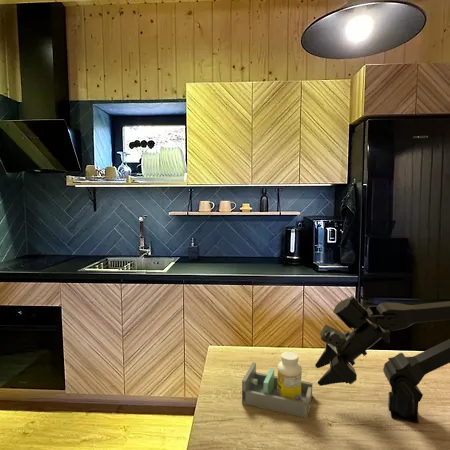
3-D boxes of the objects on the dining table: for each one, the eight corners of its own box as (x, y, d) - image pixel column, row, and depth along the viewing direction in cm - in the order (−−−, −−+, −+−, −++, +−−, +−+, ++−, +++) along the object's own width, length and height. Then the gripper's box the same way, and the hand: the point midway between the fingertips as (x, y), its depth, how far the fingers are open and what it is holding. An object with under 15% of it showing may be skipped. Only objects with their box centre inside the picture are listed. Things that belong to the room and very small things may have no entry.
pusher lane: (312, 395, 103) (312, 373, 102) (307, 418, 93) (307, 393, 92) (252, 383, 109) (252, 362, 108) (241, 403, 99) (242, 380, 98)
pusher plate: (274, 386, 105) (274, 368, 105) (267, 402, 98) (267, 383, 97) (270, 385, 106) (270, 368, 105) (263, 401, 98) (263, 382, 97)
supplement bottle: (277, 390, 104) (278, 349, 102) (300, 393, 102) (301, 351, 101) (276, 404, 97) (277, 360, 96) (301, 407, 96) (302, 362, 95)
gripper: (334, 306, 104) (295, 339, 107) (344, 331, 86) (297, 370, 89) (361, 333, 104) (322, 366, 107) (377, 365, 85) (329, 403, 88)
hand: (317, 375), depth 98 cm, fingers open, 9 cm apart
